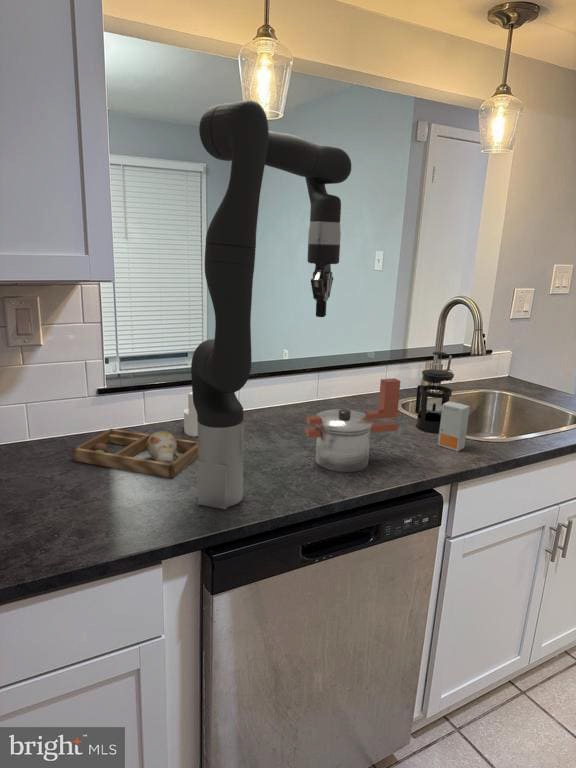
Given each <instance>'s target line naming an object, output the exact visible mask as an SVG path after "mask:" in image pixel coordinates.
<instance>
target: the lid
mask: <svg viewBox="0 0 576 768" xmlns="http://www.w3.org/2000/svg"><path fill="white" fill-rule="evenodd" d="M379 383H380V387H379V398H378V399H379V400H378V409H375V410H365V412H362V411H357V410H352V409H344V408H343V409H341V408H340V409H339V408H338V409H336V408H335V409H328V410H323V411H321V412H318V413H317V414H316V415H307V416H305V422H306V424H308V425H309V426H317V425H319V426H320V427H322V428H325V429H328V430H332V431H337V432H361V431H365V430H368V429H370V428H371V427H372V426H373V422H374V420H382V419H384V420H385V419H392V418H394V419H395V418H398V412H399V401H400V389H401V380H400V379H397V378H395V377H394V378H381V379H380V382H379Z"/></svg>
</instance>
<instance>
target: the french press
mask: <svg viewBox="0 0 576 768" xmlns="http://www.w3.org/2000/svg"><path fill="white" fill-rule="evenodd" d="M432 354H433V355H435V356H437V360H438V361H437V362H438V363H437V369H424V370H422V371H421V374H422V380H423V381H424V382H427V383H430V384H427V385H424V384H418V385H417V388H416V400H415V409H414V413H415V414H417V419H416V423H415V427H416V429H417V430H420V431H422V432H425V433H429V434H439V430H440V422H441V413H442V405H443V404H444V403H446V402H449V401H450V397H452V393H453V389H451V388H450V387H447V386H443V385H442V386H441V385H438V384H439V383H441V382H443V381H444V380H449V381H451V382H452V381H453V379H452V378H454V376H455V374H454V373H453V372H451V371H448V370H443V369H440V363H441V360H442V356H448V353H446V352H444V351H434V352H432ZM432 384H435V385H432ZM430 390H434V392H430ZM437 391H441V392H442V393H440V392H439V393H437ZM428 397H429V398H434V399H433V403H432V402H428V400H429V398H428ZM437 399H441V404H439V403H436V401H437Z"/></svg>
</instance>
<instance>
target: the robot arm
mask: <svg viewBox="0 0 576 768" xmlns="http://www.w3.org/2000/svg"><path fill="white" fill-rule="evenodd" d="M198 126H199V128H198V130H199V131H198V132H199V137H200V141H201V144H202V146H203V148H204V150H205V151H206V152H207V153H208V154H209V155H210V156H211V157H213V158H215V159H217V160H219V161H224V162H225V161H226V162H231V168H230V175H229V181H228V186H227V188H226V192H225V194H224V196H223V198H222V201H221V202H220V205H219V206H218V208H217V210H216V211H215V213H214V215H213V218H212V219H211V221H210V224H209V226H208V228H207V232H206V235H205V236H206V237H205V246H204V247H205V248H204V276H205V280H206V285H207V289H208V292H209V293H208V294H209V296H210V299H211V303H212V307H213V310H214V318H215V323H214V325H215V329H214V338H212V339H207V340H204V341H202V342H201V343H200V344H198V346H197V347H196V349H195V350H194V352H193V354H192V358H191V364H190V365H191V367H190V368H191V369H190V375H191V376H190V377H191V390H192V391H191V392H192V393H193V403H194V407H195V409H196V412H197V424H198V437H197V442H198V458H197V468H196V469H197V471H196V472H197V505H200V506H205V507H211V508H214V509H215V508H216V509H220V510H227V509H228V508H229V507H232V506H235V505H238V504H239V503H240V502H241V501H242V500H243V498H244V406H243V405H242V403H241V402H240V401H239V399H238V397H237V396H236V393H237V392H238V391H241V389H242V388H243V387H244V386H245V385H246V384H247V382H248V381H249V377H250V375H251V369H252V337H251V336H252V329H251V325H252V324H251V323H252V322H251V321H252V320H251V318H252V317H251V316H252V305H253V304H252V302H253V301H252V300H253V286H254V285H253V282H254V275H255V274H254V272H255V261H256V250H257V249H256V247H257V231H258V230H257V229H258V219H259V218H258V217H259V206H260V197H261V189H262V184H263V177H264V172H265V166H267V167H270V168H273V169H274V168H275V169H277V170H281V171H284V172H287V173H290V174H293V175H296V176H299V177H301V178H302V177H303V178H305V182H306V186H307V187H306V188H307V192H308V197H309V202H310V214H309V216H310V217H309V228H308V238H307V239H308V240H307V260H306V261H307V262H308V264H315V266H314V271H313V272H312V278H310V284H311V291H312V297H313V299H314V300H315V317H317V318H324V317H326V316H327V302H328V301H329V298H330V296H331V292H332V286H333V281H334V276H333V271H332V267H331V266H332V265H339V263H340V256H341V255H340V254H341V253H340V251H341V236H342V235H341V233H342V232H341V217H342V215H341V214H342V200H341V198H340V197H339V196H338V195H335V194H334V195H333V194H329V193H328V191H327V189H326V185H332V184H334V185H335V184H336V185H337V184H342V183H343V182H345V181H346V180H347V179H348V178H349V177H350V174H351V172H352V161H351V158H350V156H349V154H348V153H347V152H346V151H345V150H344V149H342V148H339V147H335V146H330V145H325V144H324V145H323V144H318V143H314V142H312V141H310V140H307V139H306V138H303V137H300V136H297V135H294V134H289V133H284V132H276V131H271V130H269V121H268V116H267V114H266V112H265V110H264V108H263V106H262V105H261V104H260V103H259V102H257V101H254V100H251V99H250V100H249V99H248V100H240V101H239V100H238V101H234V102H233V101H232V102H227V103H224V102H223V103H219V104H216V105H213V106H210V107H209V108H207V110H205V111H204V112H203V114H202V116H201V117H200V120H199V125H198Z"/></svg>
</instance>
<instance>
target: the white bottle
mask: <svg viewBox="0 0 576 768" xmlns="http://www.w3.org/2000/svg"><path fill="white" fill-rule="evenodd" d="M187 397H188V398H187V402H188V403H187V404H188V405H187V406H188V407H187V408H185V409H184V410H183V422H184V423H183V425H184V434H185V435H188V436H190V437H196V436H198V424H197V412H196V409H195V407H194V403H193V393H192V391H190V392H188V394H187Z"/></svg>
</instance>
